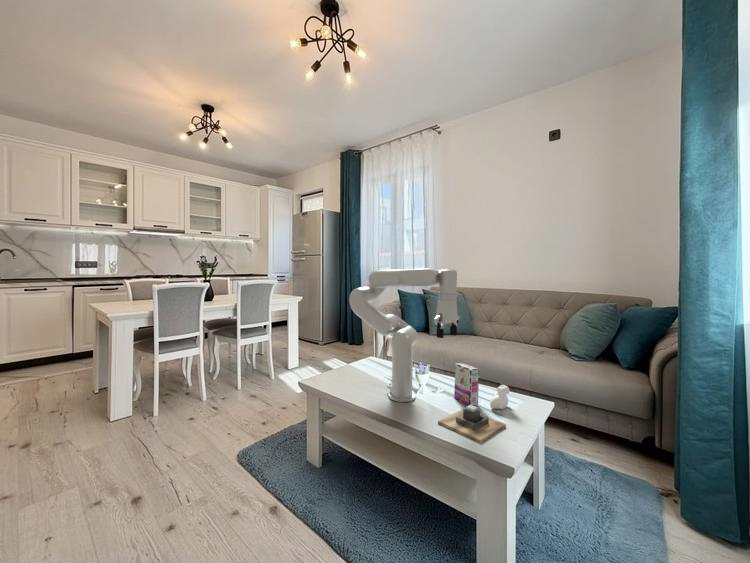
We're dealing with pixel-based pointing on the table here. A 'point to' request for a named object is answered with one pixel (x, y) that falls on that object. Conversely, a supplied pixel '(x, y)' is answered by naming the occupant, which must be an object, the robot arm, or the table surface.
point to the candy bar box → (466, 384)
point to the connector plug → (471, 414)
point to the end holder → (472, 426)
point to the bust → (500, 398)
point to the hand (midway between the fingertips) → (446, 336)
